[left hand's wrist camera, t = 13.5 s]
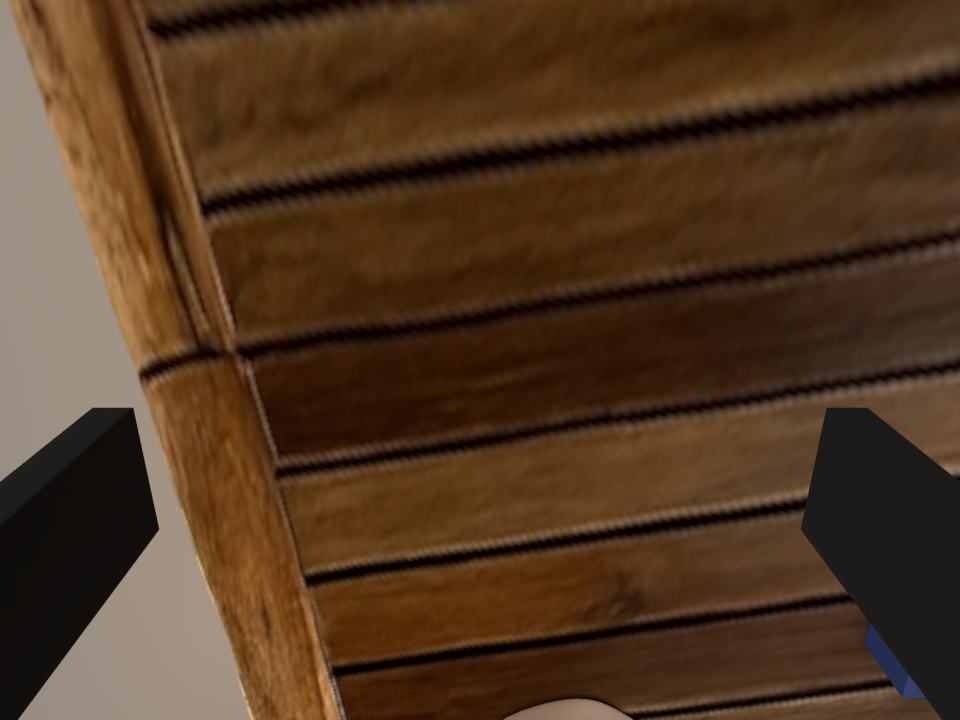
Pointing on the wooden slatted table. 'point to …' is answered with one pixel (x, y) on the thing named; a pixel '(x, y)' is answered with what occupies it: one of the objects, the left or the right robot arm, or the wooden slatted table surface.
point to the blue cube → (891, 665)
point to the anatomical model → (570, 711)
